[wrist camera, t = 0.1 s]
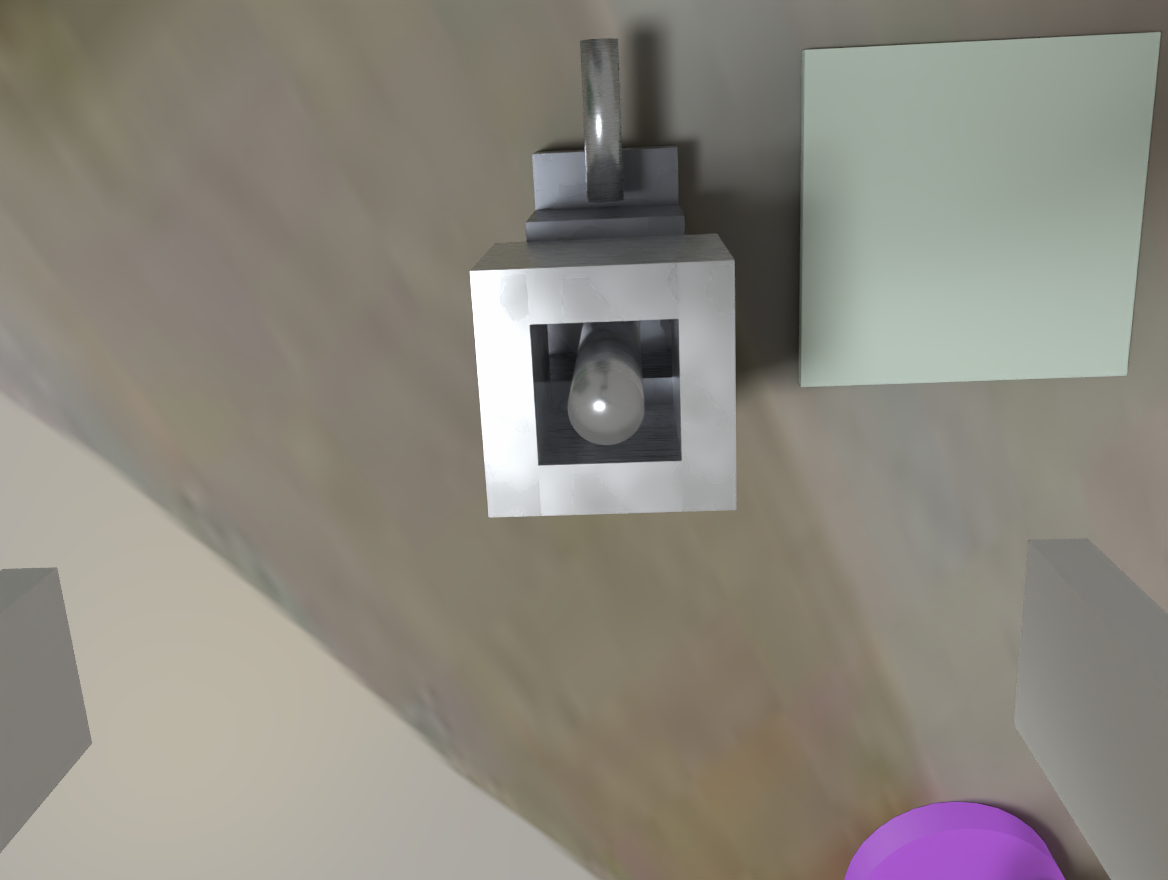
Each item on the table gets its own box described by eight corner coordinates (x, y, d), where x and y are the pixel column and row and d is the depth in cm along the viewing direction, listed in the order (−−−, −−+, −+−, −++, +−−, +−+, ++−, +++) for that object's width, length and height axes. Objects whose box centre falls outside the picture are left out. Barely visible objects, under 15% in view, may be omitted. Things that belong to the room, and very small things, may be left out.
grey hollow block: (495, 242, 35) (469, 270, 29) (716, 233, 35) (734, 260, 29) (509, 452, 37) (488, 517, 31) (719, 446, 37) (736, 509, 31)
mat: (801, 50, 39) (804, 49, 38) (1152, 32, 38) (1160, 31, 38) (798, 383, 42) (800, 386, 42) (1119, 371, 42) (1126, 375, 41)
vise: (531, 49, 39) (484, 24, 26) (673, 42, 39) (695, 13, 26) (554, 465, 44) (524, 620, 31) (681, 461, 43) (705, 615, 30)
